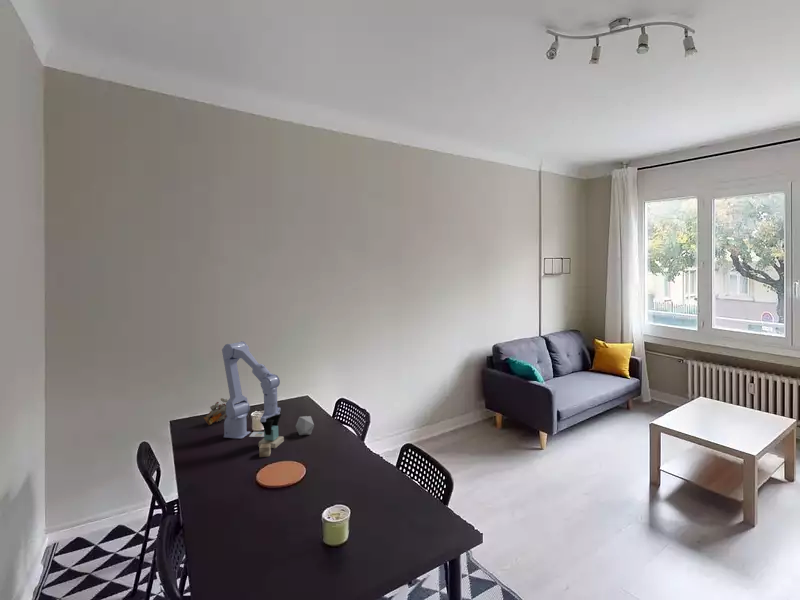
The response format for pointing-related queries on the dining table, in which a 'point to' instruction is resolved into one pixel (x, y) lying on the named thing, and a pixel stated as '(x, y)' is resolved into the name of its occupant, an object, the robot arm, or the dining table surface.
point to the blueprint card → (257, 434)
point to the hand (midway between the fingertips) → (271, 432)
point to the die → (305, 425)
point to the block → (265, 450)
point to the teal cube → (272, 434)
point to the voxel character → (216, 412)
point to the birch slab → (272, 442)
